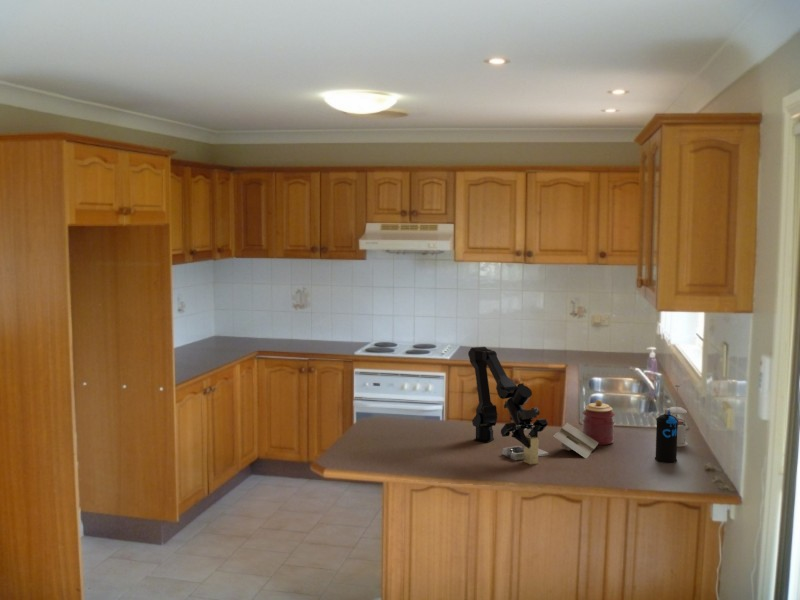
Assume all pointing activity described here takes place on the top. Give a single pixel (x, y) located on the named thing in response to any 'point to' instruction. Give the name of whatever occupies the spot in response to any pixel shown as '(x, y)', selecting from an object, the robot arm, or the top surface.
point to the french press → (680, 423)
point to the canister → (599, 422)
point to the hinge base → (519, 452)
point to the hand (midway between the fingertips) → (533, 446)
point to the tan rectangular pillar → (531, 450)
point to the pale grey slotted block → (576, 440)
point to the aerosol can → (666, 438)
